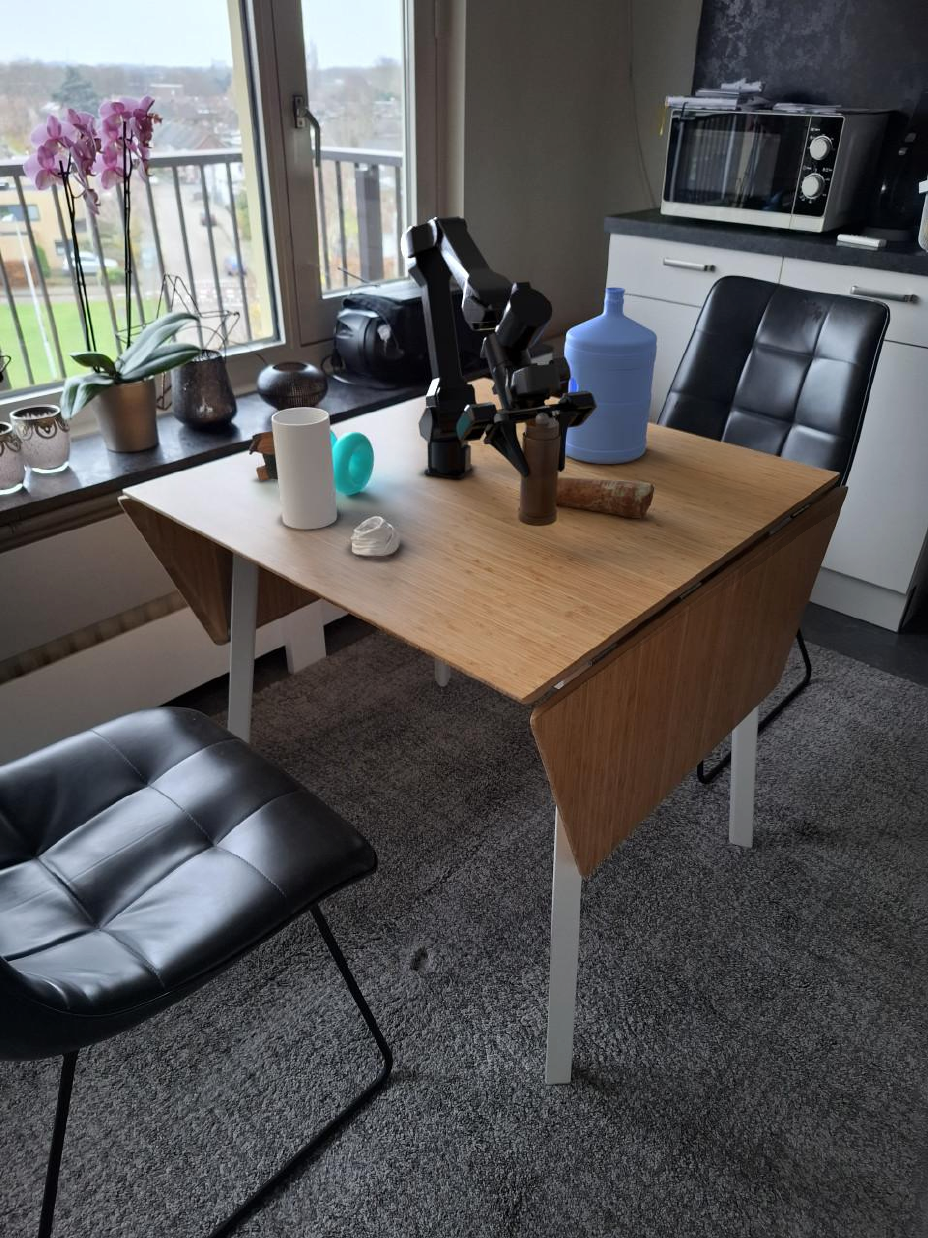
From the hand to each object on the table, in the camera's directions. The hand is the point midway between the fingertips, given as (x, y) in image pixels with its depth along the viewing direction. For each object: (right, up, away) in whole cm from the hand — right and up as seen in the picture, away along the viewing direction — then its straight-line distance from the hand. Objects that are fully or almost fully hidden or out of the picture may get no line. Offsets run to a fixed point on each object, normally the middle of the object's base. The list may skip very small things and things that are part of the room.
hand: (544, 473), depth 117 cm
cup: (-34, -4, +17) cm, 39 cm away
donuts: (-32, +2, +28) cm, 42 cm away
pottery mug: (-42, +6, +34) cm, 54 cm away
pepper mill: (-1, -5, +5) cm, 7 cm away
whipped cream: (-24, -10, +8) cm, 27 cm away
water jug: (+14, +11, +43) cm, 47 cm away
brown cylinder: (+9, -3, +21) cm, 23 cm away
